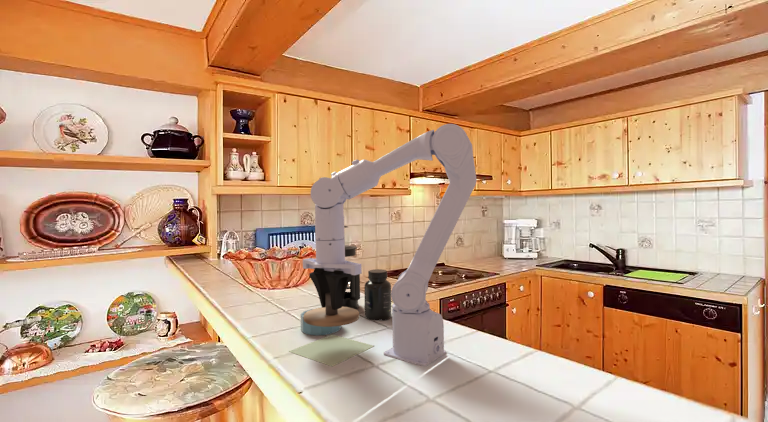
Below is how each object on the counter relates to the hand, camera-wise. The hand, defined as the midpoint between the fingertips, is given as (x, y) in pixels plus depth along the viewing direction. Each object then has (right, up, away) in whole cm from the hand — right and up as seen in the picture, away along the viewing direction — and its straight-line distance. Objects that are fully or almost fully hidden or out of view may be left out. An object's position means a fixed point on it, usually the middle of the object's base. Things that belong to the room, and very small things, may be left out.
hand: (331, 307), depth 78 cm
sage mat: (0, -9, 0) cm, 9 cm away
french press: (-1, -8, +32) cm, 33 cm away
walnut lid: (0, -2, 0) cm, 2 cm away
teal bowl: (-4, -9, +13) cm, 16 cm away
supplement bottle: (+9, -8, +22) cm, 25 cm away
